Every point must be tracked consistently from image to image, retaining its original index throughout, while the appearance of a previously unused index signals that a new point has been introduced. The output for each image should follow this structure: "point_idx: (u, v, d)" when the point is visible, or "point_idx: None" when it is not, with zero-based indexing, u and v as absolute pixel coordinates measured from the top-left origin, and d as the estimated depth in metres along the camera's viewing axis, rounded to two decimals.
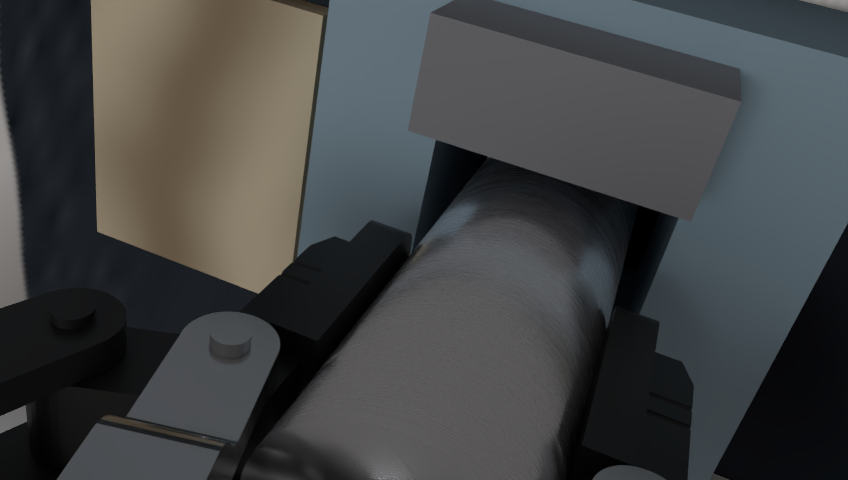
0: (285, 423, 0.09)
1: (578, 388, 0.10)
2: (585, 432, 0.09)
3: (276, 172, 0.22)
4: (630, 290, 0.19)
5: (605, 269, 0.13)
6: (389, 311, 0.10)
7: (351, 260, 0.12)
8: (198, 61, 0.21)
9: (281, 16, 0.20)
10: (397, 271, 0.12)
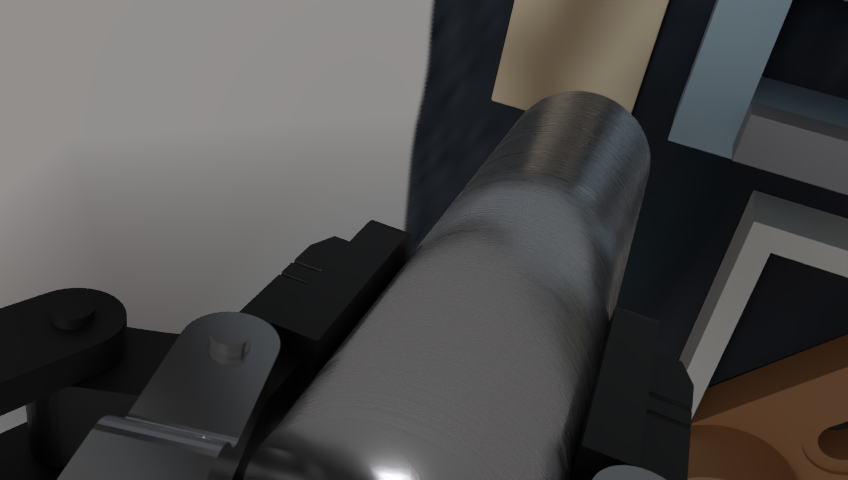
0: (289, 421, 0.09)
1: (582, 386, 0.10)
2: (585, 432, 0.09)
3: (632, 51, 0.37)
4: None
5: (608, 268, 0.13)
6: (392, 310, 0.10)
7: (351, 260, 0.12)
8: None
9: None
10: (400, 269, 0.12)
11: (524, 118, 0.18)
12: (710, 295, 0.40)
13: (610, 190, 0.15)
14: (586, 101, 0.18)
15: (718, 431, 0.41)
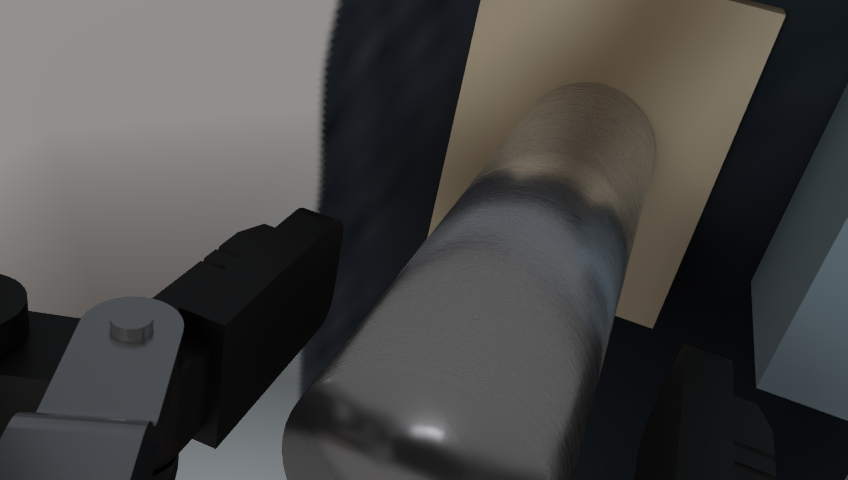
0: (328, 374, 0.09)
1: (594, 350, 0.11)
2: None
3: (676, 186, 0.20)
4: None
5: (617, 245, 0.14)
6: (419, 278, 0.11)
7: (273, 246, 0.12)
8: (605, 65, 0.19)
9: (729, 16, 0.18)
10: (422, 245, 0.13)
11: (535, 108, 0.19)
12: None
13: (618, 174, 0.16)
14: (594, 92, 0.19)
15: None
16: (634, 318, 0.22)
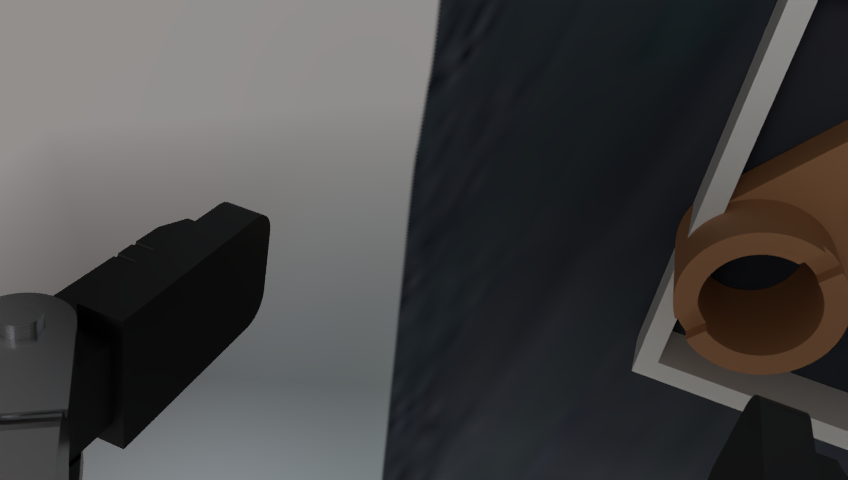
0: None
1: None
2: None
3: None
4: None
5: None
6: None
7: (188, 241, 0.11)
8: None
9: None
10: None
11: None
12: (753, 63, 0.40)
13: None
14: None
15: (760, 202, 0.40)
16: None
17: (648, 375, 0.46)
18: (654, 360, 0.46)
